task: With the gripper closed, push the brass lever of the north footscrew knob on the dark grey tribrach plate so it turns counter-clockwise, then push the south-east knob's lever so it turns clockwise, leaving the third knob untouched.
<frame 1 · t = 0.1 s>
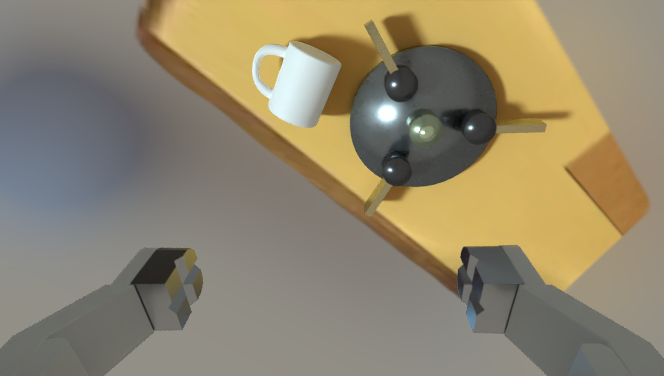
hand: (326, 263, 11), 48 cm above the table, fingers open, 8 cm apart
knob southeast: (384, 185, 59), point 4 cm above the table, hinge at 0.0°
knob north: (501, 126, 53), point 4 cm above the table, hinge at 0.0°
mug: (295, 74, 55), on the table
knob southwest: (388, 61, 49), point 4 cm above the table, hinge at 0.0°
tribrach plate: (419, 120, 57), on the table
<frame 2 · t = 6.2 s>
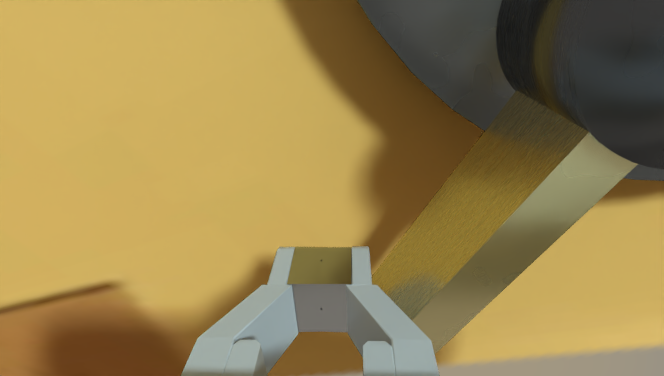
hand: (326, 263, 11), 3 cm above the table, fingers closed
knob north: (522, 171, 8), point 4 cm above the table, hinge at 0.3°, touching gripper
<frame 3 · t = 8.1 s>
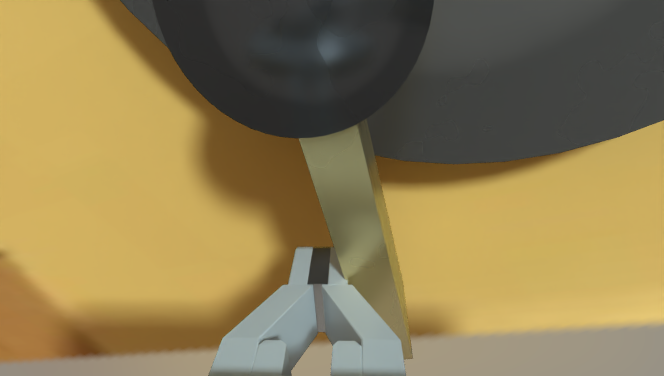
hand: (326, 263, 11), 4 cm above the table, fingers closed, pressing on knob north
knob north: (346, 158, 9), point 4 cm above the table, hinge at 43.1°, touching gripper
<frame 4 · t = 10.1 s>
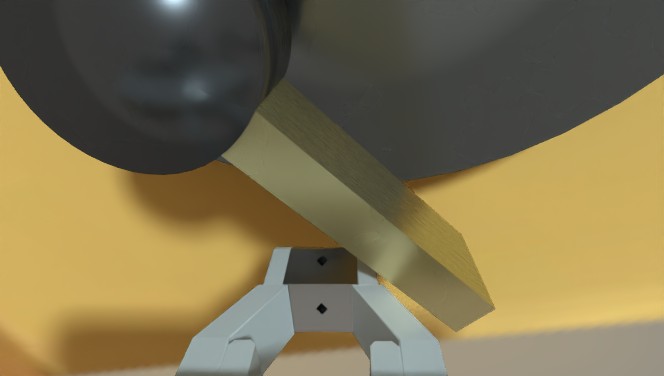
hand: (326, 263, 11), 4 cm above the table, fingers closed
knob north: (302, 149, 8), point 4 cm above the table, hinge at 75.6°
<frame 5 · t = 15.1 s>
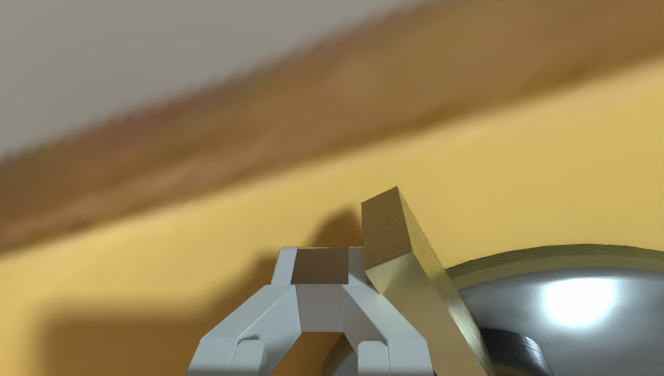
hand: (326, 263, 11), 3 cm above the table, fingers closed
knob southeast: (464, 354, 11), point 4 cm above the table, hinge at -1.7°, touching gripper
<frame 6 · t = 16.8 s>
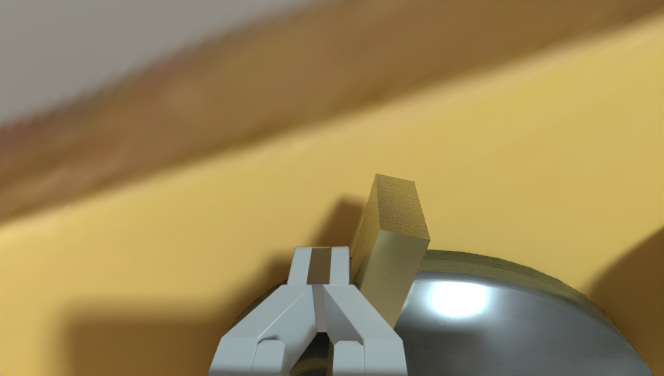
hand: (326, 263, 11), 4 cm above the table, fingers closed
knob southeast: (351, 343, 12), point 4 cm above the table, hinge at -43.8°, touching gripper
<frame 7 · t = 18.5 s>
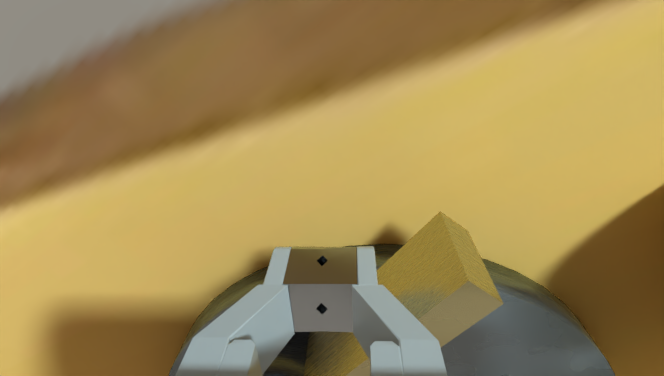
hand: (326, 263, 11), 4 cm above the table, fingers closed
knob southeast: (340, 356, 12), point 4 cm above the table, hinge at -68.7°
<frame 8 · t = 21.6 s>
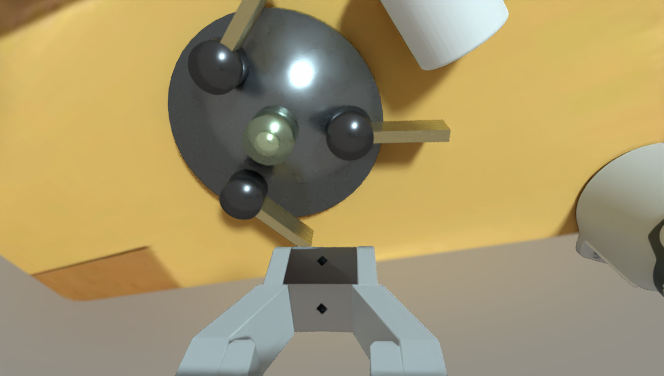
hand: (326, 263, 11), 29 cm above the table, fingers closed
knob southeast: (238, 31, 31), point 4 cm above the table, hinge at -68.9°
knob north: (270, 212, 40), point 4 cm above the table, hinge at 75.8°
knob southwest: (385, 131, 35), point 4 cm above the table, hinge at 0.0°
tribrach plate: (278, 122, 39), on the table
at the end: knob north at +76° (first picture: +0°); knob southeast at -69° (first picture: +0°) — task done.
